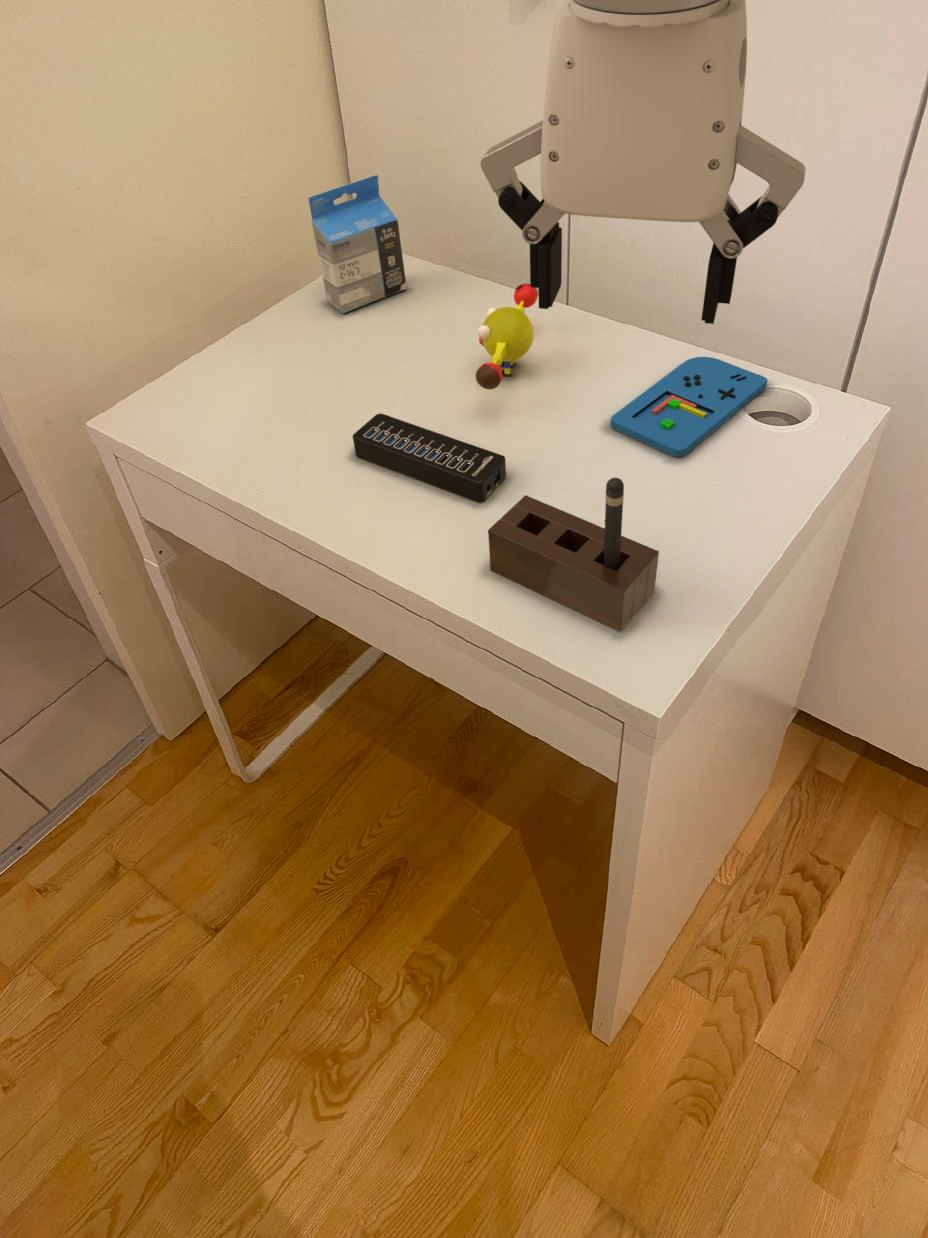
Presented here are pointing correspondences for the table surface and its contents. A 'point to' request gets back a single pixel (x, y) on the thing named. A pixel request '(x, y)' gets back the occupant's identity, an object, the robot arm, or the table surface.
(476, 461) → the multiport hub
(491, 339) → the toy figure
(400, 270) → the label tape box
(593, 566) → the pen stand
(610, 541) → the stylus
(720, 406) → the handheld gaming device
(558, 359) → the table surface
